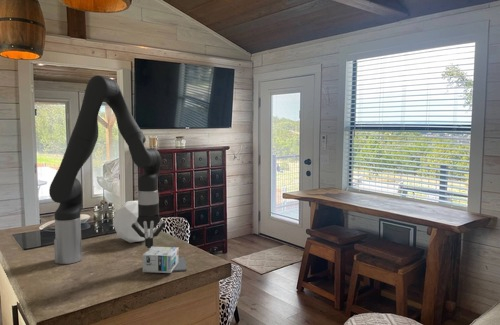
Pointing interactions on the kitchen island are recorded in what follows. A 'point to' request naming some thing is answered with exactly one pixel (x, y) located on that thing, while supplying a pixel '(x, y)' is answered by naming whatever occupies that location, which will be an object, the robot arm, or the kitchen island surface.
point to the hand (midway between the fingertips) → (149, 247)
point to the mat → (179, 265)
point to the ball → (128, 222)
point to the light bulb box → (160, 259)
